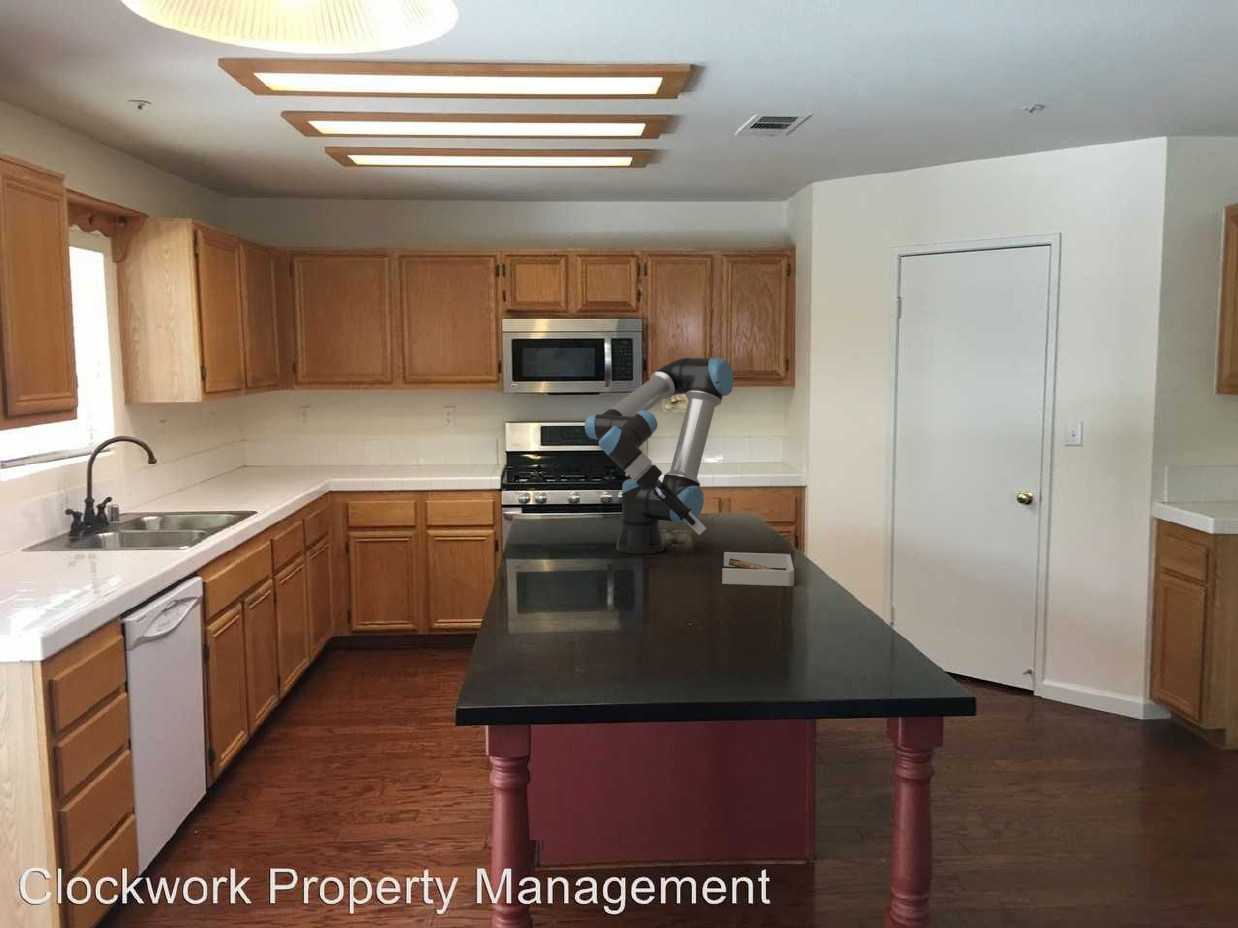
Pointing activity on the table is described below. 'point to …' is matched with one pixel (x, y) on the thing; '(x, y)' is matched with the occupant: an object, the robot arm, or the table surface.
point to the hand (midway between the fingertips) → (702, 531)
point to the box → (756, 574)
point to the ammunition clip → (746, 565)
